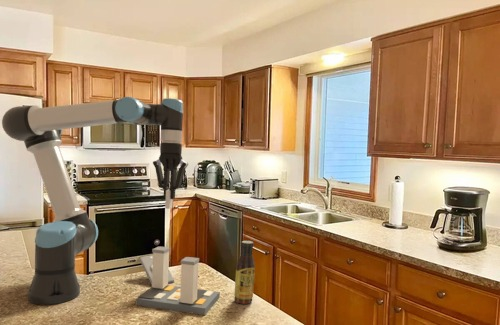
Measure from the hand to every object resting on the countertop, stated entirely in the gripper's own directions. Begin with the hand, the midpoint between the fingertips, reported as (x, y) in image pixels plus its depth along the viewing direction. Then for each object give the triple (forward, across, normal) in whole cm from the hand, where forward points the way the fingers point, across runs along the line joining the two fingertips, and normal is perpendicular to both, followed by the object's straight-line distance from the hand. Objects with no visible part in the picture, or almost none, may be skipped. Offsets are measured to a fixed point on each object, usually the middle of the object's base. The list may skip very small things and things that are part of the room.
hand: (168, 207), depth 134 cm
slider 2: (+26, -15, +15) cm, 34 cm away
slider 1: (+26, -1, +7) cm, 27 cm away
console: (+28, -10, +11) cm, 32 cm away
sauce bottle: (+29, -30, +4) cm, 42 cm away
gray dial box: (+29, +7, -5) cm, 30 cm away
